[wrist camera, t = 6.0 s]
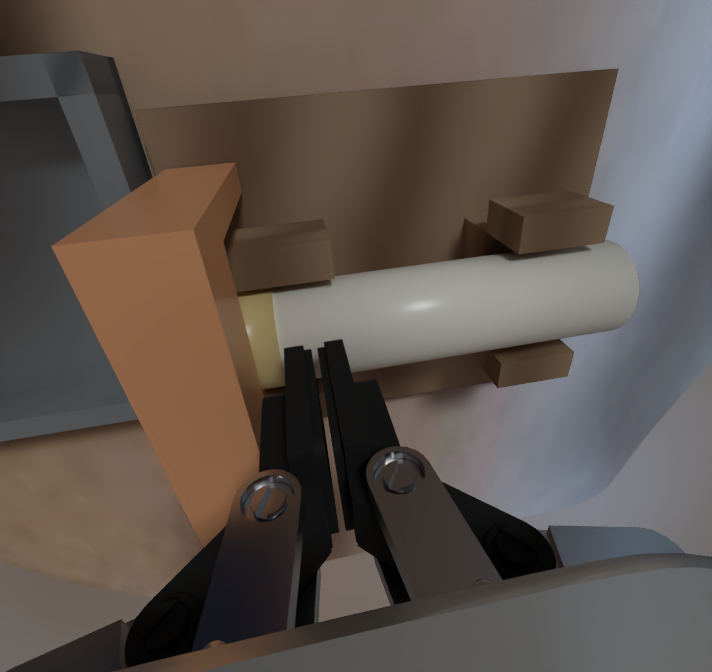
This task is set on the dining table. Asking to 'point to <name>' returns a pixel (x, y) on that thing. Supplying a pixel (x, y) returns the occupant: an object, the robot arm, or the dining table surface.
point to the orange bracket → (176, 330)
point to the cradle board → (404, 190)
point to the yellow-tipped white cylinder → (443, 308)
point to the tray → (57, 235)
